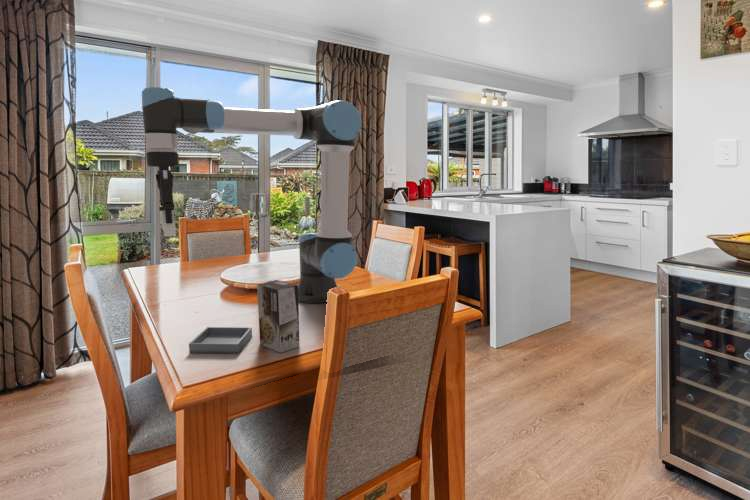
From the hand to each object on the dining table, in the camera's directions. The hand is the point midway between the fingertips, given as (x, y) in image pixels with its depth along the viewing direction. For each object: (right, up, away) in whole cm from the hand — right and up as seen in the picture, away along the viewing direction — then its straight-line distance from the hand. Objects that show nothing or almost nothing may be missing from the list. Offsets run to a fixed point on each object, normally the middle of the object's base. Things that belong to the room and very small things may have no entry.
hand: (168, 233), depth 122 cm
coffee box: (+30, -29, -4) cm, 42 cm away
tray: (+16, -29, -4) cm, 33 cm away
